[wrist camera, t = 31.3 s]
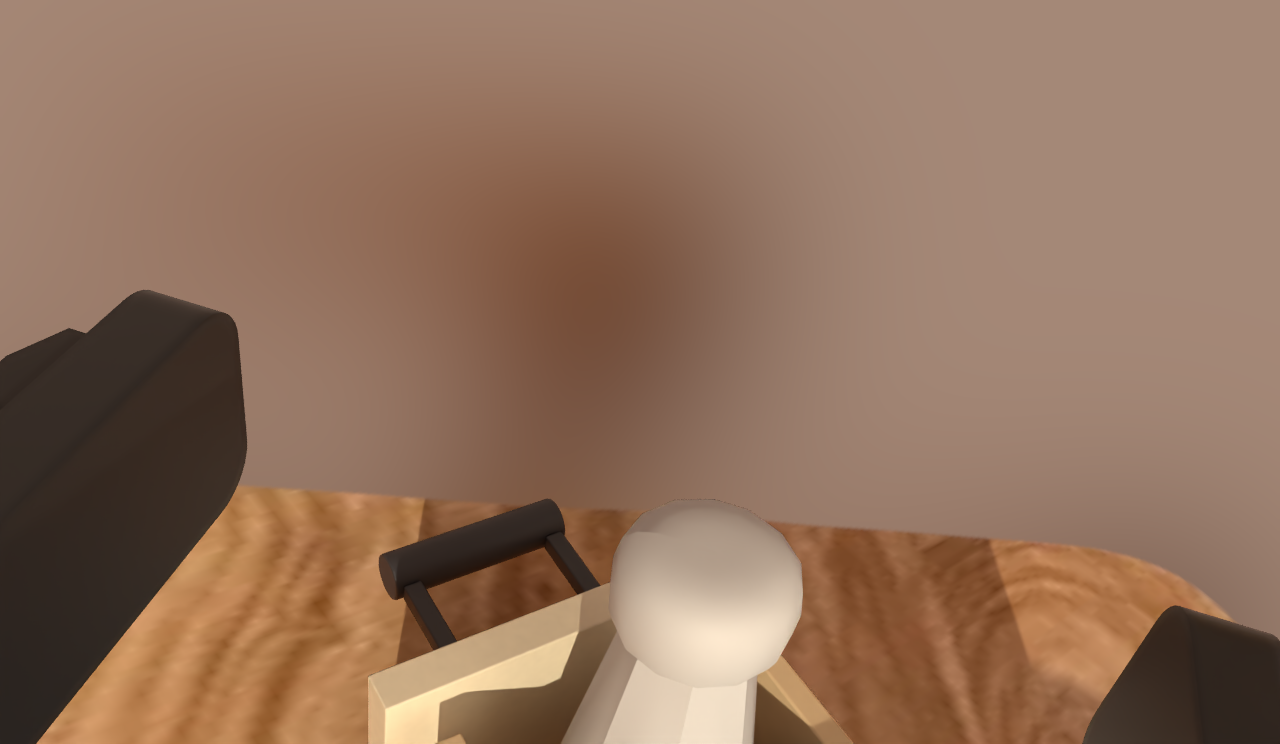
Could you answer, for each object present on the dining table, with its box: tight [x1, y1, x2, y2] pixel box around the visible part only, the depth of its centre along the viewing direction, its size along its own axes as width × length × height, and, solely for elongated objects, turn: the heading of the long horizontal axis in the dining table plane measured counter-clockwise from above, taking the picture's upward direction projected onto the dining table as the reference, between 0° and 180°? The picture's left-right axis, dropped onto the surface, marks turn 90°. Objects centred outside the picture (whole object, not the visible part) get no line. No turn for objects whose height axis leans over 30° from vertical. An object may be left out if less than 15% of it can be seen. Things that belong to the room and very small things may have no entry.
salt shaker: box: [561, 499, 803, 744], centre depth 30 cm, size 6×6×13 cm
